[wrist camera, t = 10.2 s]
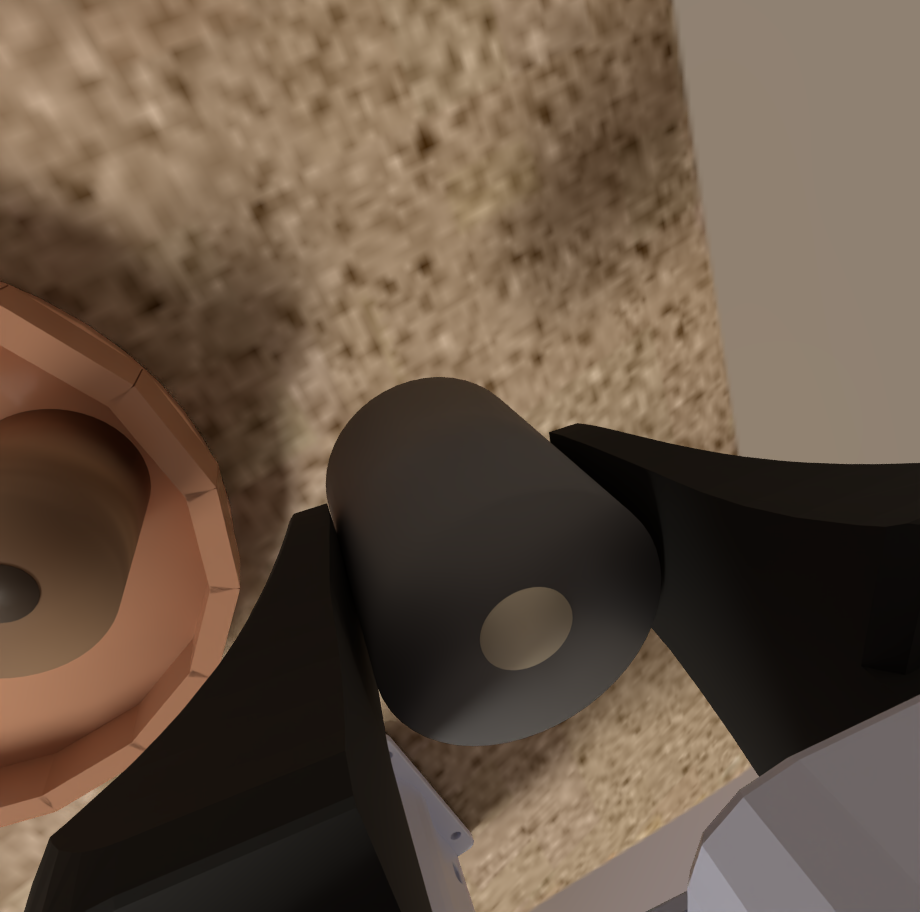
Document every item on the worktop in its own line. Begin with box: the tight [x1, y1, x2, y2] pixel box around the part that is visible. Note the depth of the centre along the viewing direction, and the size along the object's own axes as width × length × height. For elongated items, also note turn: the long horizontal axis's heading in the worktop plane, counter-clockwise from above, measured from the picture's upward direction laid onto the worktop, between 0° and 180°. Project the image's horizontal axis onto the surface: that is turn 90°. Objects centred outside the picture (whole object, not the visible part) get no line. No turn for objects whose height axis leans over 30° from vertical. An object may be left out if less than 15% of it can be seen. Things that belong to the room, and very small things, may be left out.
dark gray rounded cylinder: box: [326, 377, 661, 746], centre depth 11 cm, size 4×4×5 cm
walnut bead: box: [0, 409, 151, 679], centre depth 15 cm, size 4×4×5 cm
